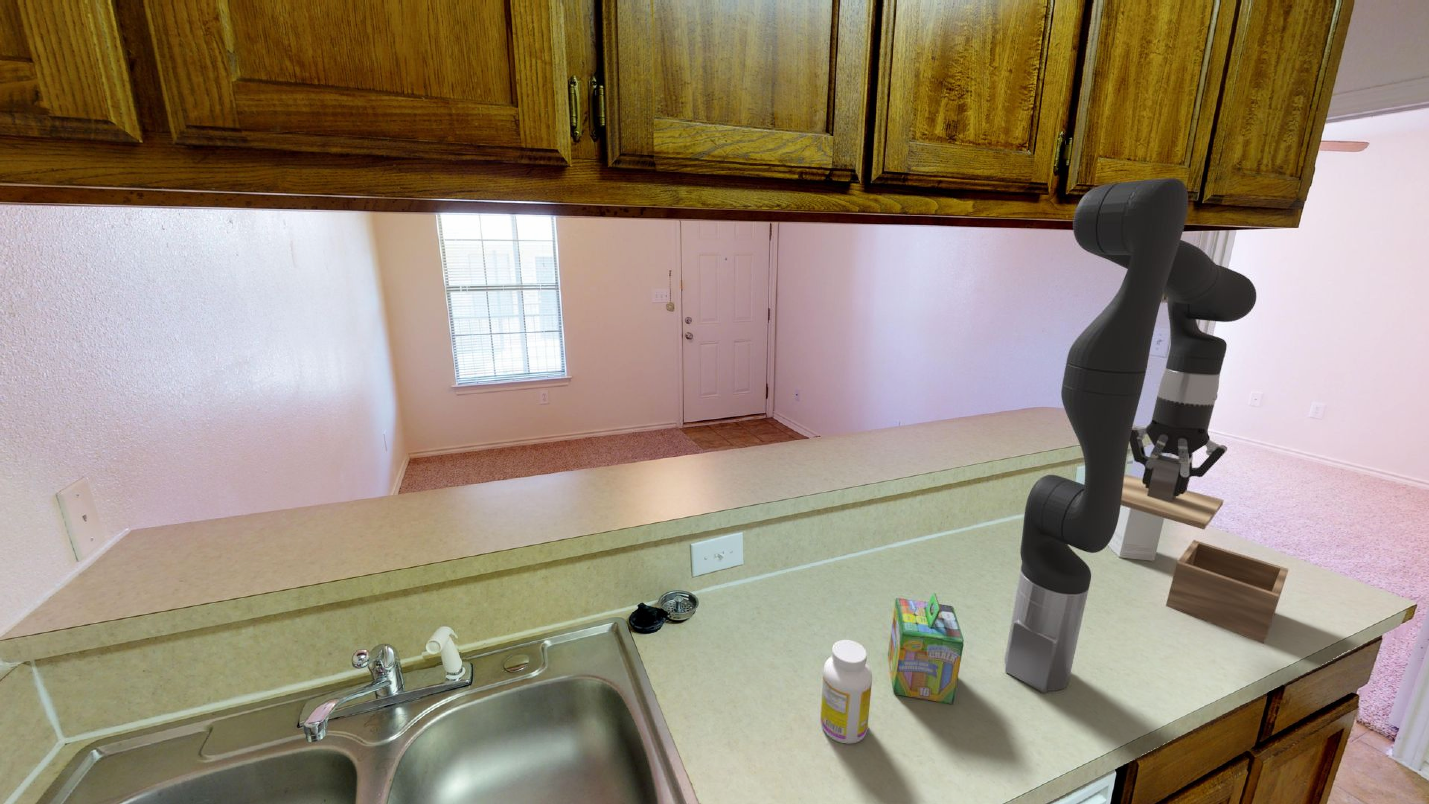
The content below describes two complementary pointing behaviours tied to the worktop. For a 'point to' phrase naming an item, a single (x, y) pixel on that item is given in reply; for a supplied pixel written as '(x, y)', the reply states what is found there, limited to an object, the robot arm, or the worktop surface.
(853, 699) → the supplement bottle
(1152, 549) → the supplement box
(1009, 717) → the worktop surface
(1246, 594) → the box
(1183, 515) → the lid
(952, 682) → the chalk box
